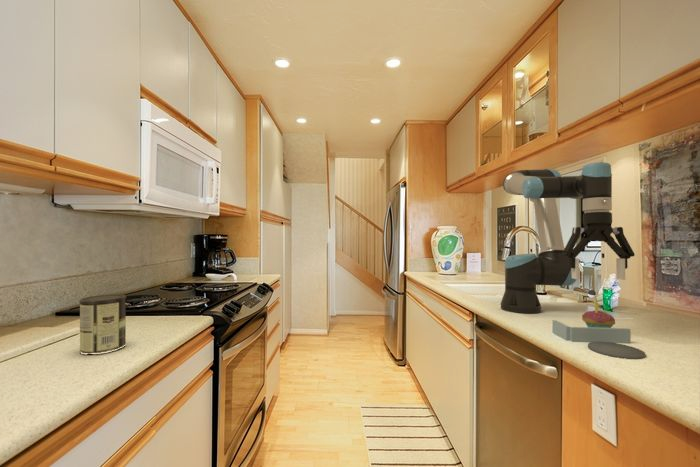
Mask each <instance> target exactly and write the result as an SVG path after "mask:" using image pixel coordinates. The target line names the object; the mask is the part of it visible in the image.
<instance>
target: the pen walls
mask: <svg viewBox="0 0 700 467" xmlns="http://www.w3.org/2000/svg"><path fill="white" fill-rule="evenodd" d="M551 323H552V324H551V325H552V333H553V334H554V335H556V336H558V337H560V338H561V339H563V340H565V341H570V342H574V343H576V342H577V343H578V342H579V343H591V342H610V343H617V344H631V342H632V341H631V339H632V338H631V337H632V336H631V329H630V328H628V327H627V328H626V327H611V328H596V327H587V326H568V324H565V323H562V322H560V321H558V320H556V319H554V320H552V322H551Z"/></svg>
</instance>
